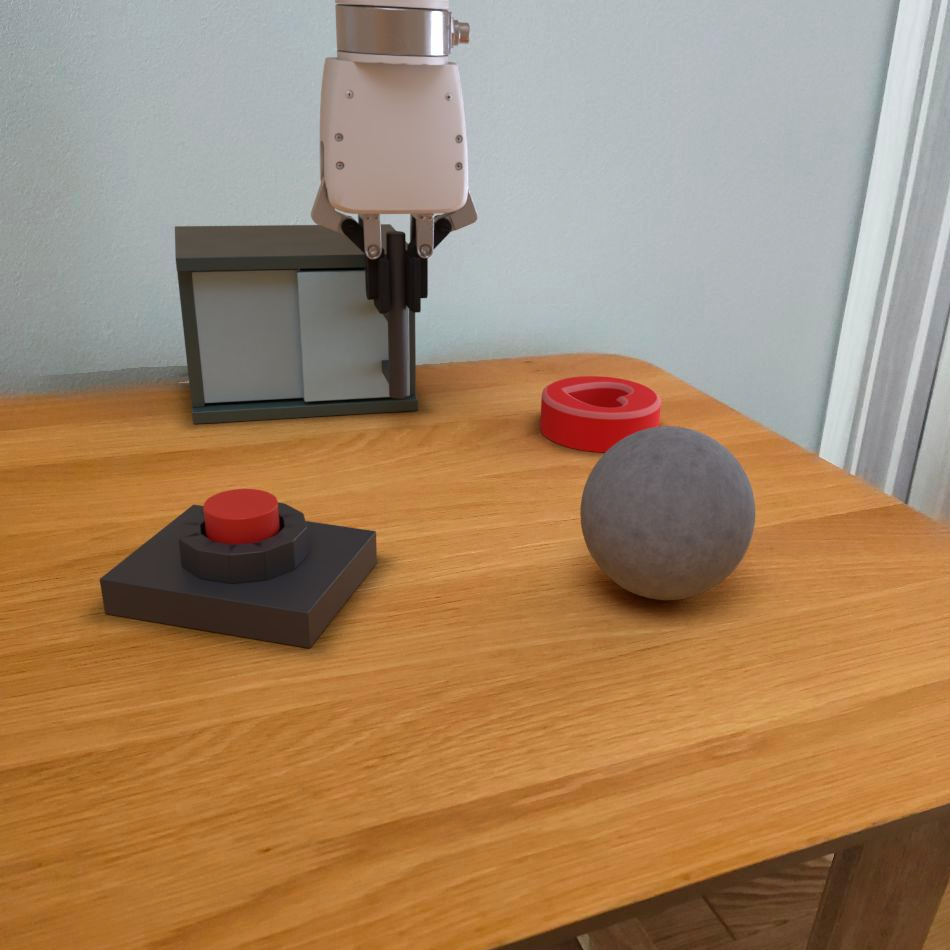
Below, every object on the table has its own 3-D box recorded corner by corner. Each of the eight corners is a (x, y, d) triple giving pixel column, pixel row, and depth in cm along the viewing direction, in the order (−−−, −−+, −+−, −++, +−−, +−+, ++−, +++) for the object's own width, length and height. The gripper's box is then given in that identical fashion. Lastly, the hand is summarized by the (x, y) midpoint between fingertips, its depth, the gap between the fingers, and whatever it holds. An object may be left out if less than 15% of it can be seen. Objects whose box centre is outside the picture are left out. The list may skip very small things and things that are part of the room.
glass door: (312, 425, 81) (301, 235, 75) (303, 399, 86) (293, 219, 80) (422, 418, 83) (422, 234, 77) (408, 393, 88) (406, 219, 82)
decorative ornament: (531, 410, 90) (533, 374, 89) (641, 409, 92) (645, 374, 90) (550, 453, 82) (552, 414, 80) (671, 451, 83) (675, 413, 82)
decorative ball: (771, 623, 60) (799, 461, 56) (605, 641, 58) (620, 472, 53) (703, 544, 69) (722, 398, 64) (555, 557, 66) (564, 405, 62)
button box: (104, 614, 58) (94, 549, 56) (196, 535, 67) (190, 477, 65) (309, 648, 56) (306, 582, 54) (377, 563, 65) (375, 503, 63)
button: (192, 541, 58) (189, 513, 57) (227, 512, 62) (225, 484, 61) (260, 552, 57) (257, 523, 57) (291, 521, 61) (289, 493, 60)
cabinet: (193, 424, 83) (175, 257, 78) (190, 376, 94) (174, 226, 88) (418, 410, 89) (417, 253, 83) (392, 367, 99) (390, 224, 93)
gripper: (491, 40, 77) (485, 293, 85) (268, 31, 72) (285, 299, 81) (520, 45, 70) (511, 318, 79) (278, 35, 66) (295, 326, 74)
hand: (396, 306), depth 80 cm, fingers closed
